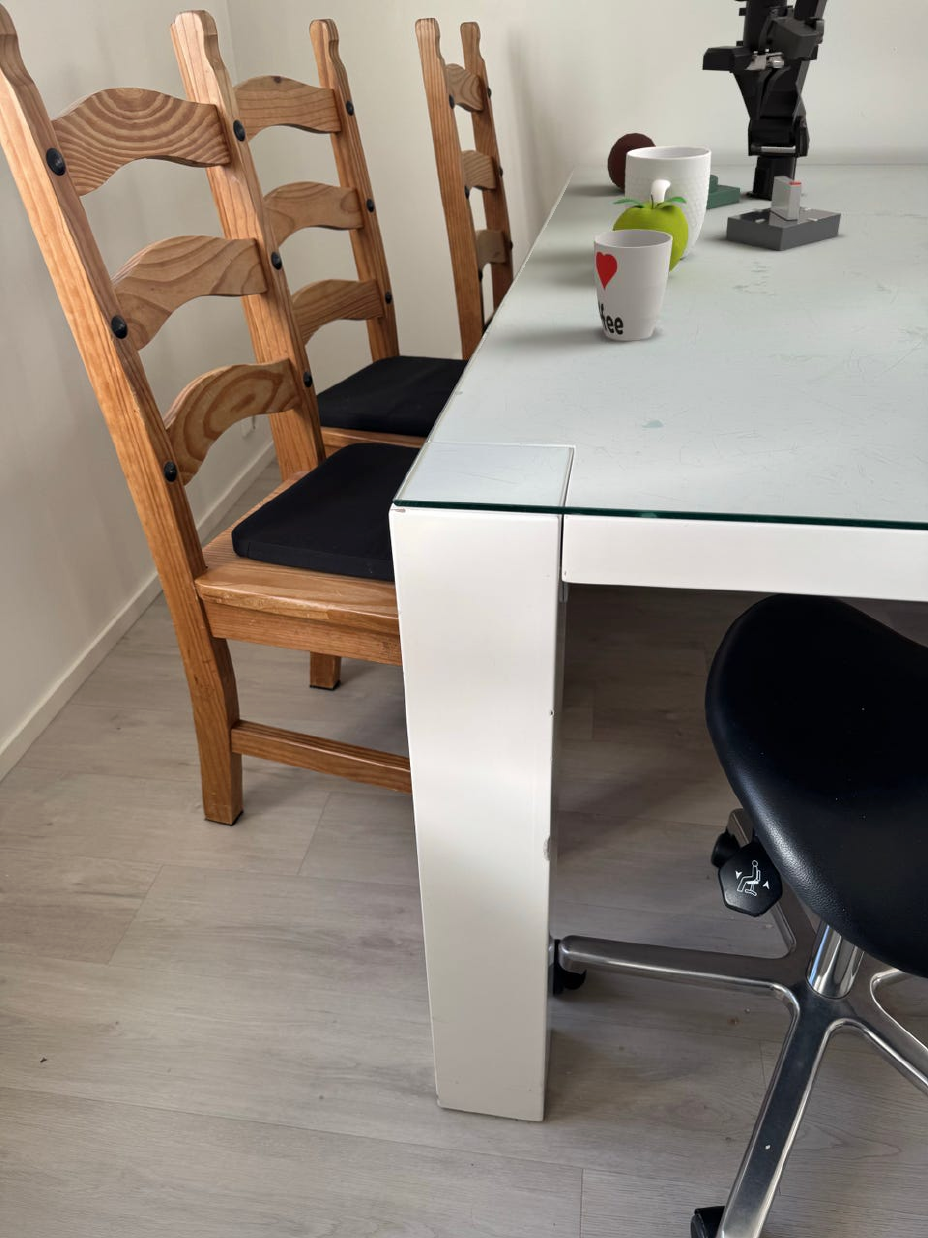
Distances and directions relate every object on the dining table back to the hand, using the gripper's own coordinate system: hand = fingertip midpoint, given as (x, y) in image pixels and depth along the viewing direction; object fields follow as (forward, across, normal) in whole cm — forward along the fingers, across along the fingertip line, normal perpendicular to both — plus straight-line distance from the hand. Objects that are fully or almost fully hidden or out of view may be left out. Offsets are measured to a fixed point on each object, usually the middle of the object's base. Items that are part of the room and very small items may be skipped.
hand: (754, 119), depth 147 cm
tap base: (+13, -10, -16) cm, 23 cm away
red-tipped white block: (+10, -10, -16) cm, 21 cm away
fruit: (+13, -38, -18) cm, 44 cm away
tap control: (+13, -1, +10) cm, 16 cm away
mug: (+13, -30, -12) cm, 35 cm away
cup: (+13, -55, -34) cm, 66 cm away
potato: (+13, 0, +27) cm, 30 cm away
